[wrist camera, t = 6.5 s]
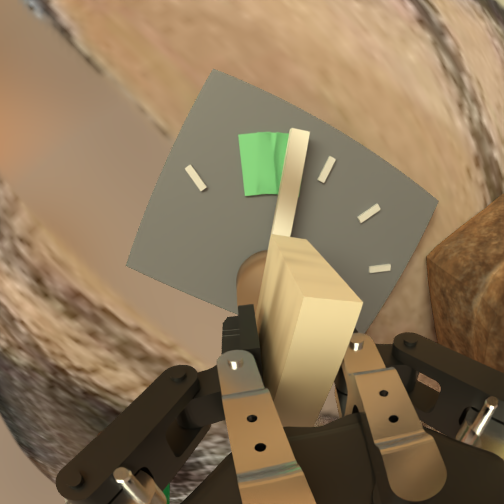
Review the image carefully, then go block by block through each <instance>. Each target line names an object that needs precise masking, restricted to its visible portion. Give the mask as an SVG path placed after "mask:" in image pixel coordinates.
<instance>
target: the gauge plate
mask: <svg viewBox="0 0 504 504" xmlns="http://www.w3.org/2000/svg"><path fill="white" fill-rule="evenodd" d="M291 128H295V129H300V130H304V131H308V132H310V135H309V140H308V146H307V152H306V157H305V163H304V168H303V174H302V179H301V184H300V190H299V195H298V200H297V205H296V210H295V215H294V220H293V225H292V230H291V235H290V237H294V238H300V239H307V240H308V242H309V243H310V244H311V245H312V246H313V247H314V248H315V249H316V250H317V251H318V252H319V253H320V255H321V256H322V257H323V258H324V259H325V260H326V261H327V262H328V263H329V264H330V266H331V267H332V268H333V269H334V270H335V271H336V272H337V273H338V274H339V276H340V277H341V278H342V279H343V280H344V281H345V282H346V283H347V285H348V286H349V287H350V288H351V289H352V290H353V291H354V293H355V294H356V295H357V296H358V297H359V298H360V299H361V301H362V302H363V305H362V308H361V311H360V314H359V317H358V320H357V323H356V326H355V328H356V330H357V331H358V333H362V334H365V332H366V331H367V329H368V328H369V326H370V325H371V323H372V322H373V320H374V319H375V317H376V316H377V314H378V313H379V311H380V309H381V308H382V306H383V305H384V303H385V301H386V300H387V298H388V296H389V295H390V293H391V292H392V290H393V288H394V286H395V285H396V283H397V281H398V280H399V278H400V276H401V274H402V273H403V271H404V269H405V267H406V266H407V264H408V262H409V260H410V258H411V256H412V254H413V253H414V251H415V249H416V247H417V245H418V243H419V241H420V239H421V237H422V235H423V233H424V231H425V229H426V227H427V225H428V223H429V221H430V219H431V217H432V215H433V213H434V210H435V208H436V206H437V204H438V202H439V201H438V200H437V199H435V198H434V197H433V196H432V195H431V194H429V193H428V192H427V191H426V190H424V189H423V188H422V187H420V186H419V185H418V184H417V183H415V182H414V181H413V180H411V179H410V178H409V177H407V176H406V175H405V174H403V173H402V172H401V171H399V170H398V169H396V168H395V167H394V166H392V165H391V164H389V163H388V162H387V161H385V160H384V159H382V158H381V157H379V156H378V155H376V154H375V153H373V152H372V151H370V150H369V149H367V148H366V147H364V146H363V145H361V144H360V143H358V142H357V141H355V140H353V139H352V138H350V137H349V136H347V135H345V134H344V133H342V132H341V131H339V130H337V129H336V128H334V127H332V126H330V125H329V124H327V123H325V122H324V121H322V120H320V119H318V118H316V117H315V116H313V115H311V114H309V113H307V112H306V111H304V110H302V109H300V108H298V107H296V106H294V105H292V104H290V103H288V102H287V101H285V100H283V99H281V98H279V97H277V96H274V95H272V94H270V93H268V92H266V91H264V90H262V89H260V88H258V87H255V86H253V85H251V84H249V83H247V82H244V81H242V80H240V79H237V78H235V77H233V76H230V75H228V74H225V73H223V72H220V71H218V70H215V69H213V70H212V72H211V73H210V75H209V77H208V79H207V80H206V82H205V84H204V86H203V88H202V89H201V91H200V93H199V95H198V97H197V99H196V101H195V103H194V104H193V106H192V108H191V110H190V112H189V114H188V116H187V118H186V120H185V122H184V124H183V126H182V128H181V130H180V132H179V134H178V136H177V139H176V141H175V143H174V145H173V147H172V149H171V151H170V154H169V156H168V158H167V160H166V162H165V165H164V167H163V169H162V172H161V174H160V177H159V179H158V181H157V183H156V186H155V188H154V190H153V193H152V195H151V198H150V200H149V203H148V205H147V208H146V211H145V213H144V216H143V219H142V221H141V224H140V226H139V229H138V232H137V235H136V238H135V240H134V243H133V246H132V249H131V252H130V255H129V258H128V261H127V264H126V266H127V267H129V268H131V269H134V270H136V271H138V272H140V273H142V274H144V275H147V276H149V277H151V278H153V279H155V280H158V281H160V282H162V283H164V284H166V285H169V286H171V287H173V288H176V289H178V290H180V291H182V292H185V293H187V294H189V295H192V296H194V297H196V298H199V299H201V300H204V301H206V302H208V303H211V304H213V305H216V306H218V307H220V308H223V309H225V310H228V311H230V312H233V313H235V314H238V307H237V287H236V279H237V273H238V271H239V268H240V267H241V265H242V264H243V262H244V261H245V260H246V259H247V258H249V257H250V256H251V255H253V254H255V253H257V252H260V251H264V250H268V246H269V241H270V236H271V230H272V225H273V220H274V214H275V209H276V204H277V198H278V193H279V187H280V182H281V176H282V171H283V165H284V160H285V154H286V148H287V143H288V137H289V131H290V129H291Z"/></svg>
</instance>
